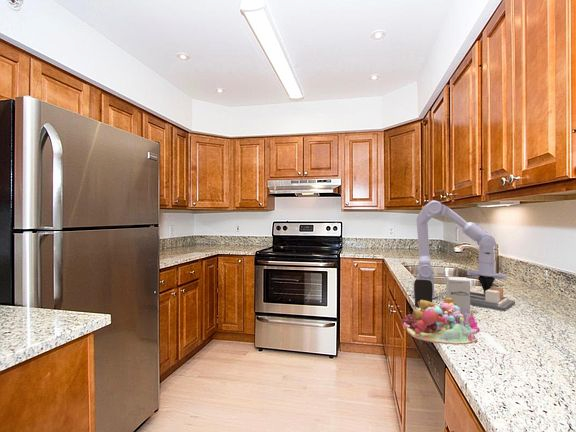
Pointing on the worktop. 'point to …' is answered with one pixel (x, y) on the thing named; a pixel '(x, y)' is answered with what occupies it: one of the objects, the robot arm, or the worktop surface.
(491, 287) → the orange block
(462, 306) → the supplement box
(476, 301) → the gray compartment tray
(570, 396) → the worktop surface
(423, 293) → the battery charger
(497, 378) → the worktop surface
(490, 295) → the cream white block
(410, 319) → the candy landscape model
